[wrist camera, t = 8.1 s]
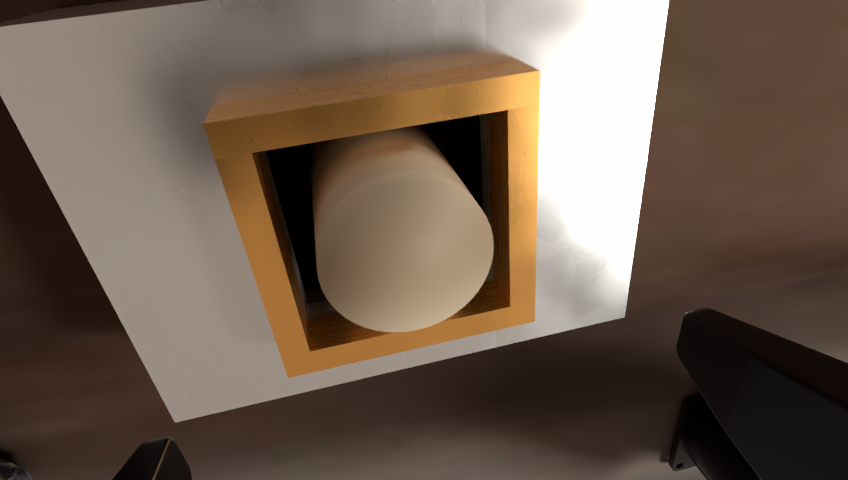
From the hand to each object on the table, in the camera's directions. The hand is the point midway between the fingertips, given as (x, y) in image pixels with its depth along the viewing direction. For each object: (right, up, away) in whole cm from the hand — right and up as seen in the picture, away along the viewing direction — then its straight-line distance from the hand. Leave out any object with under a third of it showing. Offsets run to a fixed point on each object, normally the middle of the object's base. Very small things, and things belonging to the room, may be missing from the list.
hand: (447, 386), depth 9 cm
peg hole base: (-2, +5, +10) cm, 11 cm away
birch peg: (-2, +5, +10) cm, 11 cm away
